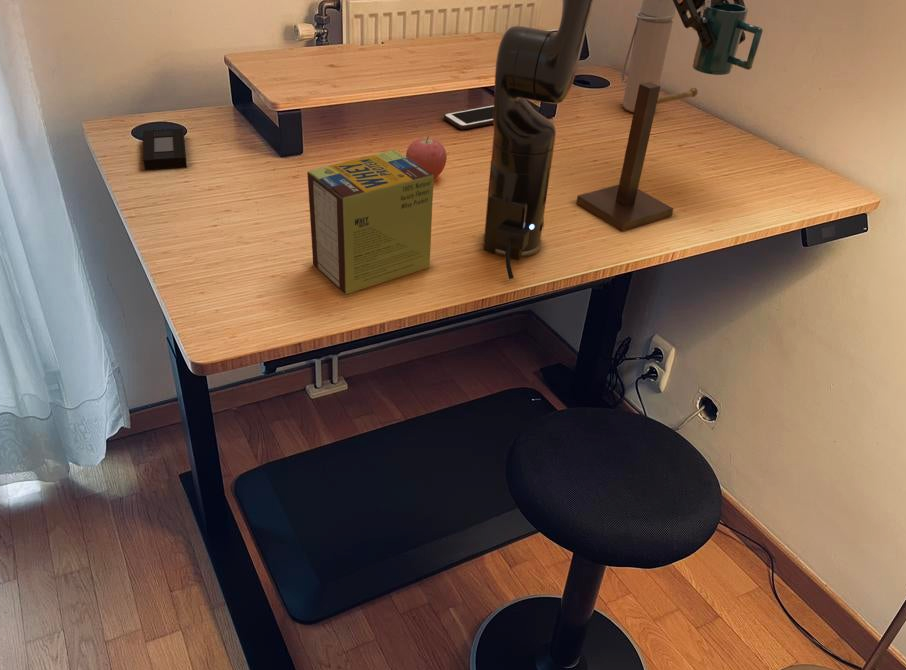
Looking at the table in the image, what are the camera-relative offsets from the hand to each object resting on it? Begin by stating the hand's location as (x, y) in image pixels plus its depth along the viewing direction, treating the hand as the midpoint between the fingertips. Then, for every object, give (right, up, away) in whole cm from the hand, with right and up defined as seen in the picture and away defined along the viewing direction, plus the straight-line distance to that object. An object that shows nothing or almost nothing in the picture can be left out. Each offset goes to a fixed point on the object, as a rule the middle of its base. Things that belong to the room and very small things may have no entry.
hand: (725, 45), depth 133 cm
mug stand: (-13, -25, +9) cm, 30 cm away
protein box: (-59, -39, -11) cm, 72 cm away
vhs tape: (-101, -13, +19) cm, 104 cm away
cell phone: (-39, 0, +39) cm, 56 cm away
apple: (-51, -19, +15) cm, 56 cm away
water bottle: (-3, +6, +49) cm, 50 cm away
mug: (0, -4, +2) cm, 4 cm away
